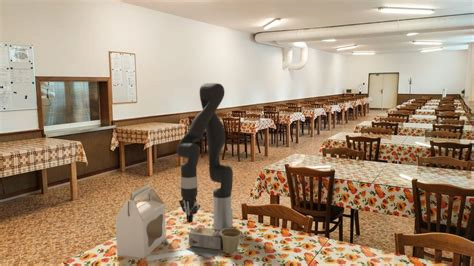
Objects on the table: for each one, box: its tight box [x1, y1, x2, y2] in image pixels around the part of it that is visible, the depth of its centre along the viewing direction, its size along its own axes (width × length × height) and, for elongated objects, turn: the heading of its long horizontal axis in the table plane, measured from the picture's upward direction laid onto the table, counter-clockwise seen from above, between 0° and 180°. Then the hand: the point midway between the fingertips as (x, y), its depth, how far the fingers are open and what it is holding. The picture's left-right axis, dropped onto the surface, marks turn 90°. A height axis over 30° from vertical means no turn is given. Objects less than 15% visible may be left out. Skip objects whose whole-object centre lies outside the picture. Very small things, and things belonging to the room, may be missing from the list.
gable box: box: [115, 183, 167, 259], centre depth 169 cm, size 22×13×28 cm, turn 166°
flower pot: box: [220, 227, 242, 254], centre depth 165 cm, size 9×9×9 cm
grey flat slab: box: [186, 246, 224, 260], centre depth 166 cm, size 9×14×1 cm, turn 47°
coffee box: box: [188, 226, 223, 251], centre depth 171 cm, size 9×6×16 cm
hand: (189, 222), depth 170 cm, fingers closed
